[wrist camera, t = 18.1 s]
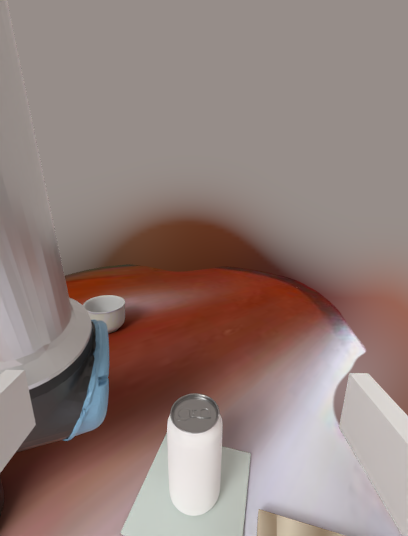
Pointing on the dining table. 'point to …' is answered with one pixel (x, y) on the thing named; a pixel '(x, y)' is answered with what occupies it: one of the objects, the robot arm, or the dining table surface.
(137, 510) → the mat
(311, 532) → the holder
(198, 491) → the can
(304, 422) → the dining table surface
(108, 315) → the teacup
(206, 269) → the dining table surface
